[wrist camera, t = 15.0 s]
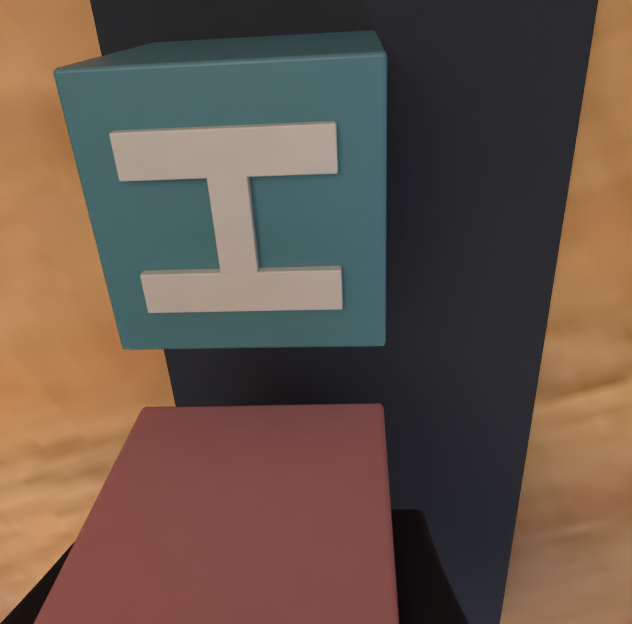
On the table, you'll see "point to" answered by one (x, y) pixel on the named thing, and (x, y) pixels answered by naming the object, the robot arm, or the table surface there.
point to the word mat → (429, 248)
